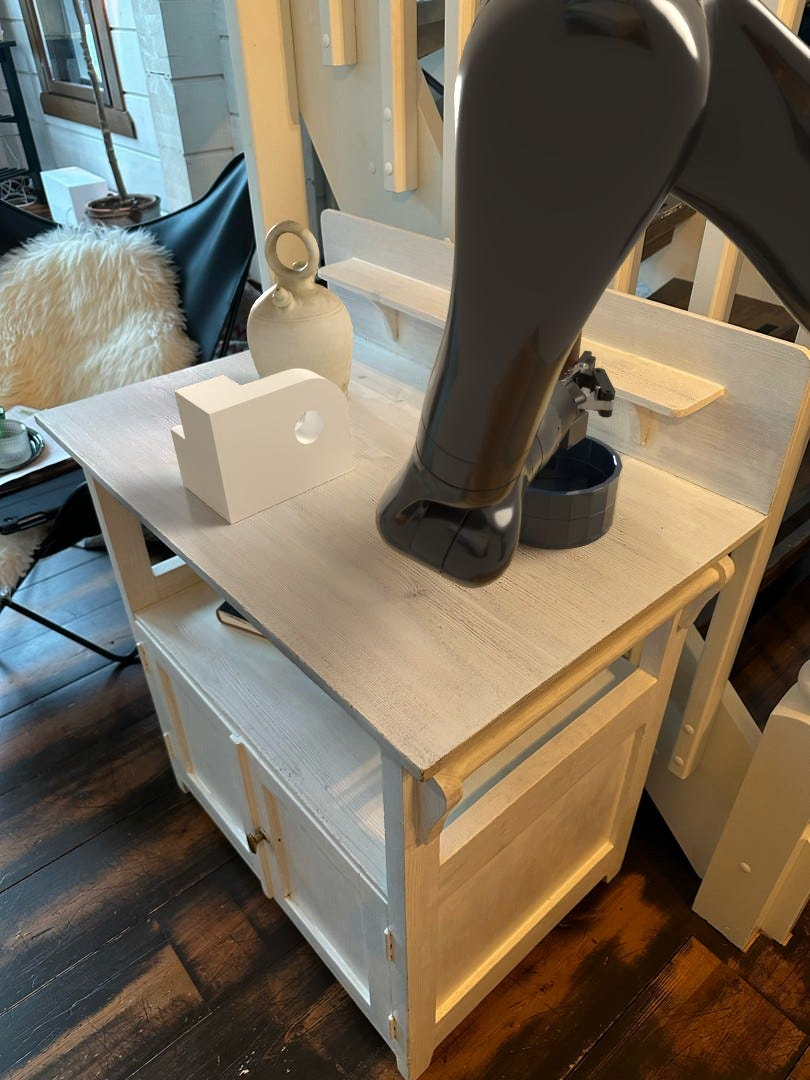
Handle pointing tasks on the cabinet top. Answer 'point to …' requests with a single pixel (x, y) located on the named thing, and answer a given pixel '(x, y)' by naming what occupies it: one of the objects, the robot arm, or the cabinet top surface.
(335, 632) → the cabinet top surface
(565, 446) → the brown cylinder
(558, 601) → the cabinet top surface
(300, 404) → the tape dispenser
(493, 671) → the cabinet top surface
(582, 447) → the pot
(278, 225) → the jug
